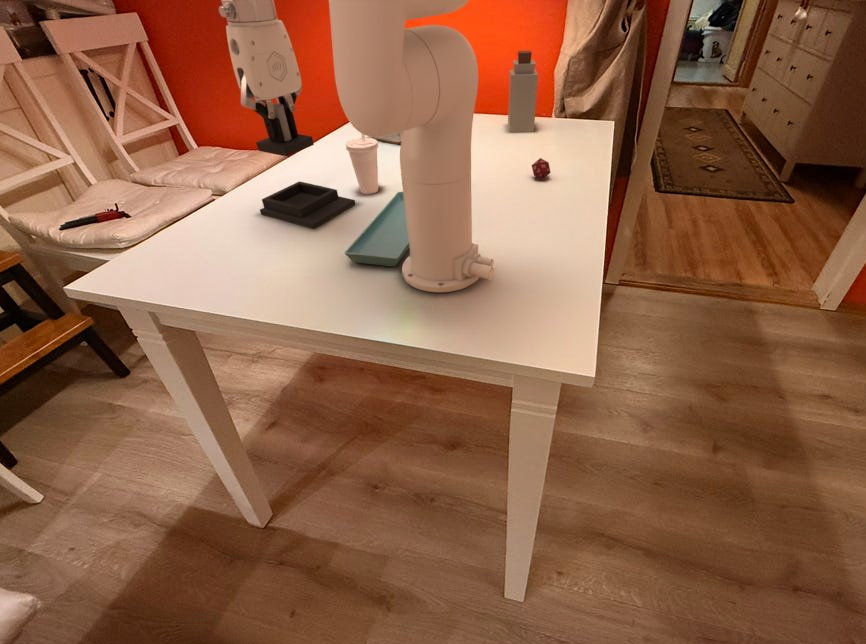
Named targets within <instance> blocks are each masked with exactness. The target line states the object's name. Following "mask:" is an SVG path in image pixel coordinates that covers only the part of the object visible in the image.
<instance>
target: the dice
mask: <svg viewBox="0 0 866 644" xmlns="http://www.w3.org/2000/svg"><path fill="white" fill-rule="evenodd" d="M531 169H532V174H533V176H534V177H536V178H538V179H539V180H541V181H543V180H544V179H545V178H546V177H547V176H549V175H551V169H550V163H549V161H547V160H545V159H544V158H541V157H540V158H538V160H536V161H535V162H534V163H532V164H531Z"/></svg>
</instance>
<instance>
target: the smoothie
mask: <svg viewBox="0 0 866 644" xmlns="http://www.w3.org/2000/svg"><path fill="white" fill-rule="evenodd" d="M360 134H361V137H358V138H353V139H350V140H348V141H347V142H345V149H346V151H347V152H348V154H349V159H350V161H351V165H352V167H353V172H354V174H355V177H356V180H357V184H358V187H359V190H360V193H361V194H364V195H372V194H375V193H377V192H378V191H379V172H378V171H379V170H378V168H379V167H378V148H379V144H378V140H376V139H374V138H372V137H366V135H364V134H362V133H360Z"/></svg>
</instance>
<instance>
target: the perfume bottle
mask: <svg viewBox="0 0 866 644" xmlns="http://www.w3.org/2000/svg"><path fill="white" fill-rule="evenodd" d="M532 55H533V52H532V50H529V49H527V50H517V59H516V60H514V59H513V60H512V64H513V69H510V70H509V80H508V105H507V106H508V108H507V128H508V129H507V130H508V133H533V132H535V123H536V110H537V109H536V108H537V93H538V79H539V74H538V71H537V70H536V62H535V60H534V59H532Z"/></svg>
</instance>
